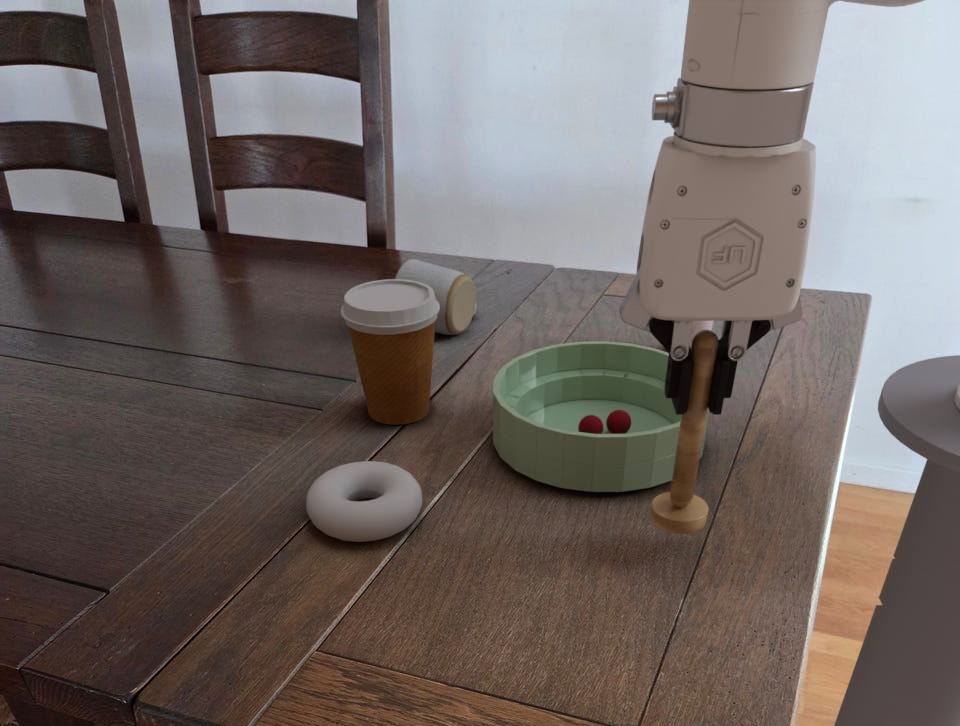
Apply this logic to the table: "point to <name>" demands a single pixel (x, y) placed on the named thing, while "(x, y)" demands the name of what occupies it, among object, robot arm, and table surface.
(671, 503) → the stirrer
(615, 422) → the cherry
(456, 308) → the ceramic mug
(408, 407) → the disposable coffee cup
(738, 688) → the table surface
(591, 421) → the cherry
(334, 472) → the donut
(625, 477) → the bowl
